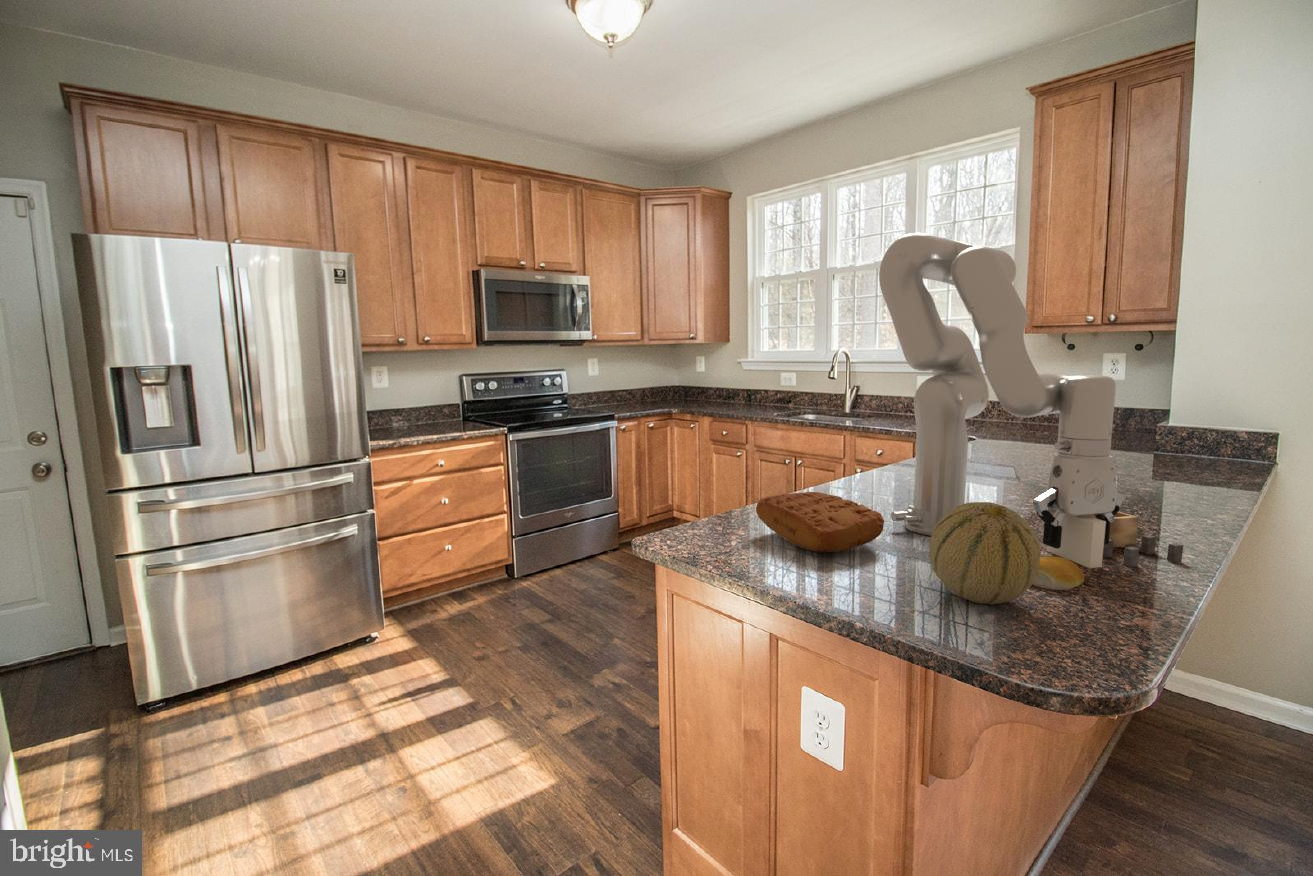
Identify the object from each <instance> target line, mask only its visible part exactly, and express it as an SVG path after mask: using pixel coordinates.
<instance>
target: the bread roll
mask: <svg viewBox="0 0 1313 876" xmlns="http://www.w3.org/2000/svg"><path fill="white" fill-rule="evenodd" d="M1084 581H1085V576H1084V573H1083V571H1082V570H1081V568H1080V567H1079V566H1078V564H1077V563H1075V562H1073V561H1070V560H1068V559H1065V558H1063V557H1060V556H1058V555H1055V556H1054V555H1051V556H1050V555H1049V556H1043V557H1042V556H1040V563H1039V567H1038V571H1037V575H1036V577H1035V580H1034V581H1033V583H1032V585H1031V586H1035V587H1038V588H1041V589H1042V588H1043V589H1046V590H1051V591H1069V590H1071V589H1073V588H1076V587H1079V586H1080V585H1082V584H1083V583H1084Z"/></svg>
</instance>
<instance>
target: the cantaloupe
mask: <svg viewBox="0 0 1313 876" xmlns="http://www.w3.org/2000/svg"><path fill="white" fill-rule="evenodd" d="M928 546H929V551H928V553H929V561H930V564H931V567H932V571H933V572H934V574H935V576H936V577H937V578H938V579H939V581H940V582H941V583H942V584H943V585H944V587H946V588H947V590H949V592H952V594H954V595H957V596H958V597H960V598H962V599H965V600H967V601H971V602H973V603H978V604H988V605H997V604H1003V603H1008V602H1010V601H1012V600H1015V599H1017V598H1019V597H1020V596H1022V595H1023V594H1024V593H1025V592H1027V591H1028V590H1029V588H1031V586H1033V585H1032V583H1033V581H1034V580H1035V577H1036V575H1037V571H1038V567H1039V563H1040V557H1041V552H1042V550H1041V546H1040V541H1039V538H1038V537H1037V534H1036V533H1035V531H1034V529H1033V528H1032V527H1031V525H1030V524H1029V522H1028V521H1026V519H1024V518H1023V517H1022V516H1020V514H1019V513H1018V512H1016V511H1014V510H1012V509H1010V508H1009V507H1007V506H1004V505H1001V504H998V503H996V502H990V501H989V502H987V501H984V502H983V501H982V502H980V501H979V502H978V501H976V502H973V501H972V502H965V504H962V505H960V506H957V507H955V508H953V509H952V510H950V511H949V512H948V513H946V514H945V515H944V516H943V517H942V518H941V519H940V520H939V521H938V523H937V524H936V526H935V527H934V530H933V532H932V535H931V536H930V540H929V545H928Z"/></svg>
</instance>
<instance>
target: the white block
mask: <svg viewBox="0 0 1313 876" xmlns="http://www.w3.org/2000/svg"><path fill="white" fill-rule="evenodd" d="M1056 514H1057V513H1056V512H1055V513H1054V515H1053V517H1055V515H1056ZM1059 526H1062V535H1061V547H1060V548H1057V549H1056V548H1053V547H1050V546H1048V545H1046V552H1048V553H1050V554H1053V555H1055V556H1057V557H1061V558H1064V559H1068V560H1069V561H1070V560H1071V562H1073V563H1074V564H1077V565H1081V566H1083V567H1086V568H1088V569H1096V568H1102V565H1103V558H1104V557H1103V547H1104V537H1105V526H1106V521H1103V520H1100V519H1096V518H1093V517H1090V516H1086V515H1084V516H1070V515H1066V516H1065V517H1064V519H1063V520H1062V521H1061V522H1060V524H1059Z"/></svg>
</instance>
